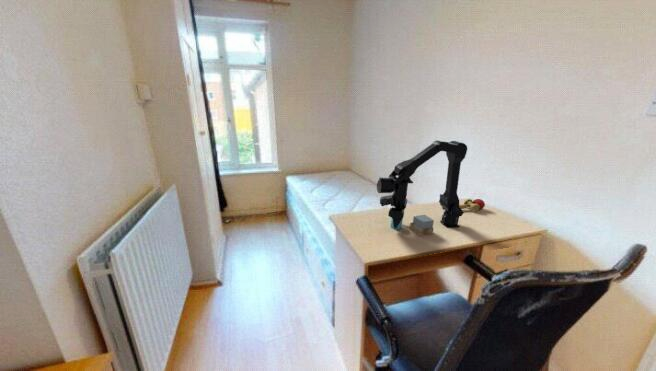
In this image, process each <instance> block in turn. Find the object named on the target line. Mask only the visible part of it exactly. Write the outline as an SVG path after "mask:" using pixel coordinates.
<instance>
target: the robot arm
mask: <svg viewBox="0 0 656 371" xmlns="http://www.w3.org/2000/svg"><path fill="white" fill-rule="evenodd" d="M441 152H444V153H445V156H446V158H447V161H448V163H447V172H446V174H447V175H446V182H445V183H446V184H445V190H444V192H443V193H442V194H439V200H438V203H439V205H440V207H441V209H442V210H443V214H442V216H441V219H440V221H439V222H440V223H441V224H442V225H444V227H446V228H460V224H459V219H460V217H462V216H463V215H464V213H465V212H464V211H463V209H461V208H460V207H459V205H460V198H459V195H458V186H459V178H460V171H461V165H462V162H463V161H464V159H465V158H466V155H467V152H468V146H467V145H466V143H464V142H462V141H461V142H460V141H456V140H451V141H442V140H434V141H433V142H432V143H431V144H429V145H428V146H427V147H426V148H424V149H423V150H421V151H420V152H418V153H417V154H415V155H414V156H413V157H412V158H410V159H409V158H408V159H406V160H403V161H401V162H399V163H397V164H396V165H395V166H394V169H393V170H392V171H391V173H390V174H388V177H379V179H378V180H377V182H376V191H377V193H378V194H388V195H383V196H381V197H380V198H379V205H380V206H381V207H385V206H389V205H390V208H389V210H388V217H390V218H392V219H393V225H394V228H397V226H398V225H399V223H400V222H401V220H402V219H404V216H405V210H406V208H407V204H408V199H407V195H408V188H409V187H408V186H409V184H414V181H413V180H411V177H412V176H413V175H414V174H415V173H416V171H417V169H418V168H419V167H420V166H422V165H423V164H425V163H427V161H429V160H430V159H433V157H436V155H438V154H439V153H441ZM391 193H392V194H391ZM402 221H403V220H402Z"/></svg>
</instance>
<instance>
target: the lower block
mask: <svg viewBox="0 0 656 371" xmlns="http://www.w3.org/2000/svg"><path fill="white" fill-rule="evenodd" d="M409 231H411V232H412V233H414V234H415V235H417V236H418V237H425V236H426V237H427V236H430V235H434V234H433V233H434V226H433V227H432V228H426V229H420V228H419V227H417V226H416V225H415V224H413V222H409Z"/></svg>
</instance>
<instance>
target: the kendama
mask: <svg viewBox="0 0 656 371" xmlns="http://www.w3.org/2000/svg"><path fill="white" fill-rule="evenodd" d="M485 206H486V203H485V201H484V200H483V199H482V198H481V199H480V198H476V199H473V200H472V199H471V198H467V199H465V200H464V202H463V204H459V207H460V208H461V210H463V209H467V208H469V210H470V212H472V213H476V212H478V211H480V210H483V209H484V208H485Z"/></svg>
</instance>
